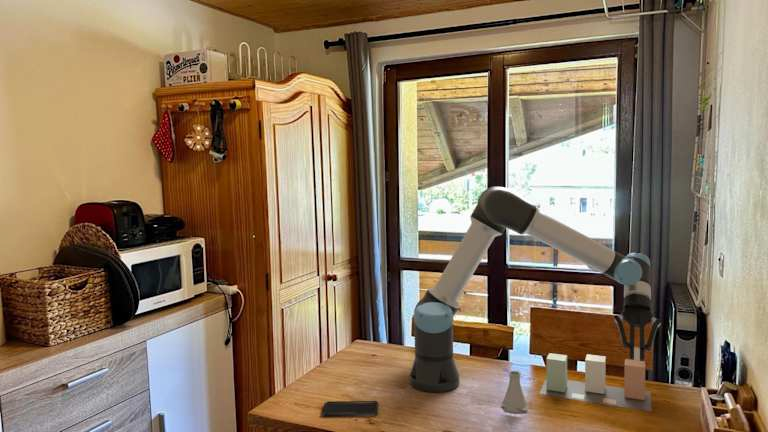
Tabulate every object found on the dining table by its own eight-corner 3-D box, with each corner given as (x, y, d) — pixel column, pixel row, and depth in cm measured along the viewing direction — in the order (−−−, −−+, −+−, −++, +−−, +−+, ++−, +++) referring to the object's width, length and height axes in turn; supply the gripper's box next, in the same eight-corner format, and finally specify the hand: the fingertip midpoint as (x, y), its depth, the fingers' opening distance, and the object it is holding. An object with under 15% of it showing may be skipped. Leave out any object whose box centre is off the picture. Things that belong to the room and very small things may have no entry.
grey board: (539, 398, 146) (539, 393, 146) (546, 381, 158) (546, 376, 158) (651, 417, 134) (651, 411, 134) (650, 397, 146) (650, 391, 146)
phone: (325, 401, 147) (378, 400, 146) (325, 405, 147) (378, 404, 146) (320, 414, 139) (377, 413, 138) (321, 418, 139) (377, 417, 138)
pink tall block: (624, 397, 142) (624, 364, 142) (624, 390, 147) (625, 358, 146) (644, 400, 140) (645, 367, 139) (644, 392, 145) (645, 361, 144)
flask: (529, 415, 137) (529, 378, 136) (501, 413, 138) (501, 377, 137) (527, 403, 144) (527, 368, 143) (500, 402, 145) (500, 367, 144)
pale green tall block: (546, 389, 148) (546, 358, 148) (549, 383, 153) (549, 353, 152) (564, 392, 146) (565, 361, 145) (567, 385, 151) (567, 355, 150)
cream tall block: (585, 391, 147) (585, 359, 146) (586, 384, 151) (586, 354, 150) (604, 394, 144) (604, 362, 144) (605, 387, 149) (605, 356, 148)
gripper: (660, 307, 160) (662, 380, 147) (614, 303, 166) (611, 373, 152) (661, 294, 155) (663, 368, 142) (613, 290, 161) (611, 361, 147)
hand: (636, 370), depth 147 cm, fingers closed
